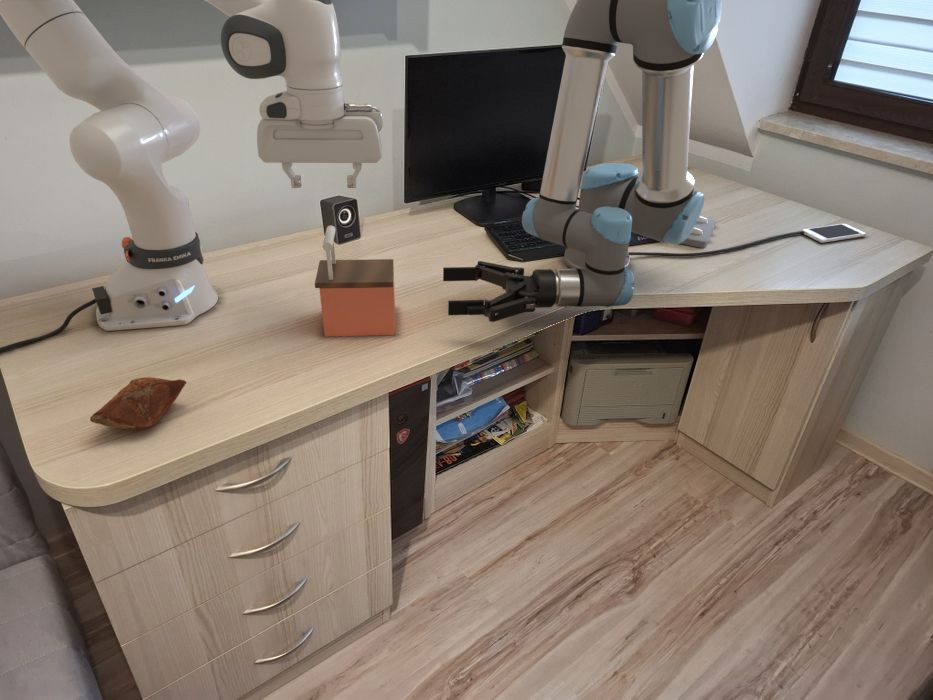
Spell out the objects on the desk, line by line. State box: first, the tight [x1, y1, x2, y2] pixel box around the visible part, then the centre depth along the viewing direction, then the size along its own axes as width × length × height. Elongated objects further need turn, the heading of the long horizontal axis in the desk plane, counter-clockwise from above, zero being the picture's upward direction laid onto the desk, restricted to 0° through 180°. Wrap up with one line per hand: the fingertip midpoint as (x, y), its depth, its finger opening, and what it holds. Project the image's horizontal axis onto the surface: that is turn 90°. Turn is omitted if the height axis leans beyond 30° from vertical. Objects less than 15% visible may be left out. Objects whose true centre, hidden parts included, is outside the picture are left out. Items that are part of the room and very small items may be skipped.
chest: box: [318, 265, 396, 338], centre depth 123 cm, size 13×10×10 cm
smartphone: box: [801, 223, 866, 244], centre depth 171 cm, size 7×16×1 cm, turn 111°
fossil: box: [89, 376, 188, 431], centre depth 97 cm, size 13×8×10 cm
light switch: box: [679, 215, 716, 249], centre depth 169 cm, size 18×3×15 cm
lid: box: [314, 224, 394, 289], centre depth 118 cm, size 14×10×9 cm
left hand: (324, 187), depth 110 cm, fingers open, 8 cm apart
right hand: (445, 290), depth 123 cm, fingers open, 13 cm apart
